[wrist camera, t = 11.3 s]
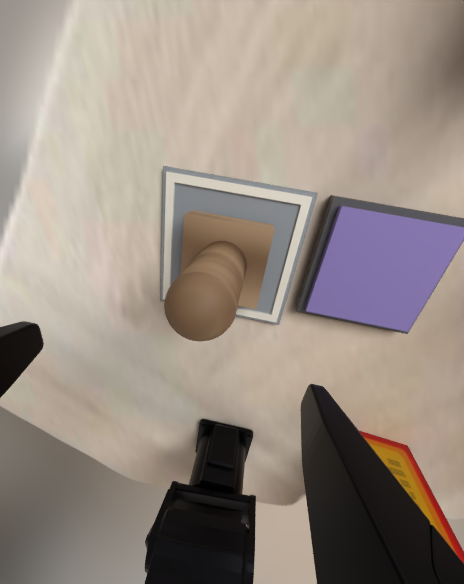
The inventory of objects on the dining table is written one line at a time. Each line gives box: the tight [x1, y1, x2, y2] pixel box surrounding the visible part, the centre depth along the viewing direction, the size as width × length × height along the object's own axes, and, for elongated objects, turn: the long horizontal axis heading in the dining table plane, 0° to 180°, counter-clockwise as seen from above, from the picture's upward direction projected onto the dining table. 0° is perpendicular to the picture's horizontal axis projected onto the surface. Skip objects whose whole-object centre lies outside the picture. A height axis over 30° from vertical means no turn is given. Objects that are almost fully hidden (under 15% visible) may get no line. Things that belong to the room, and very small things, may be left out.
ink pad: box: [296, 195, 464, 334], centre depth 17 cm, size 9×9×2 cm
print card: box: [160, 166, 318, 325], centre depth 19 cm, size 11×11×1 cm
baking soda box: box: [359, 431, 464, 563], centre depth 21 cm, size 10×6×16 cm
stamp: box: [165, 210, 275, 341], centre depth 14 cm, size 6×6×10 cm
